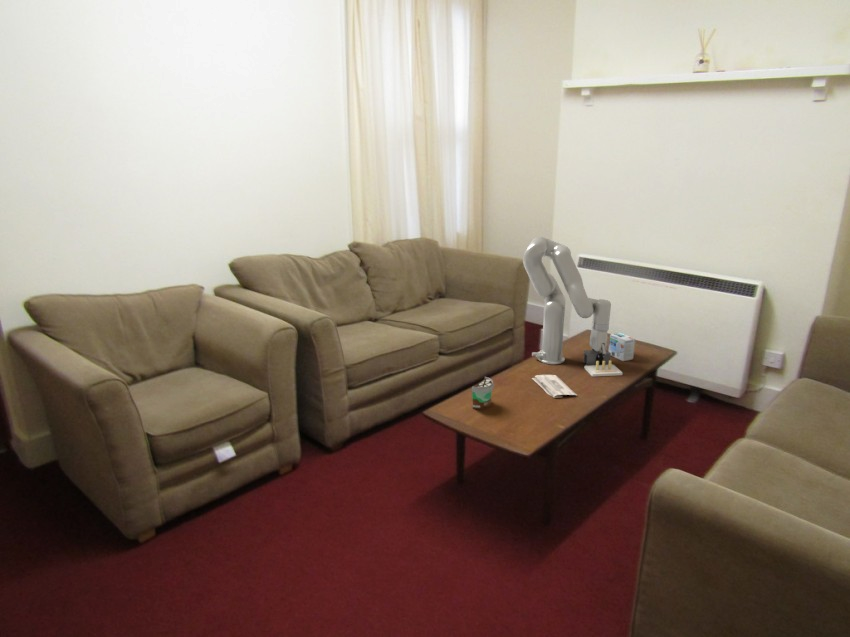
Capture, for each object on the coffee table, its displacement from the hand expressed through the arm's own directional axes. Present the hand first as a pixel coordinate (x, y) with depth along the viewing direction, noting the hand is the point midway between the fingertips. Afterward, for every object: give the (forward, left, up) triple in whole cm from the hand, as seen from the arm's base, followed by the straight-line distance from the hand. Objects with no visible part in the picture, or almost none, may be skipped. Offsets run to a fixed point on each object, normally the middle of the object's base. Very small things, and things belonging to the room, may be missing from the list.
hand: (596, 361), depth 270 cm
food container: (-62, -38, -1) cm, 72 cm away
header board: (-1, -10, -1) cm, 10 cm away
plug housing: (0, 0, -1) cm, 1 cm away
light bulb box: (+15, +7, -1) cm, 17 cm away
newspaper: (-29, -24, -2) cm, 37 cm away
